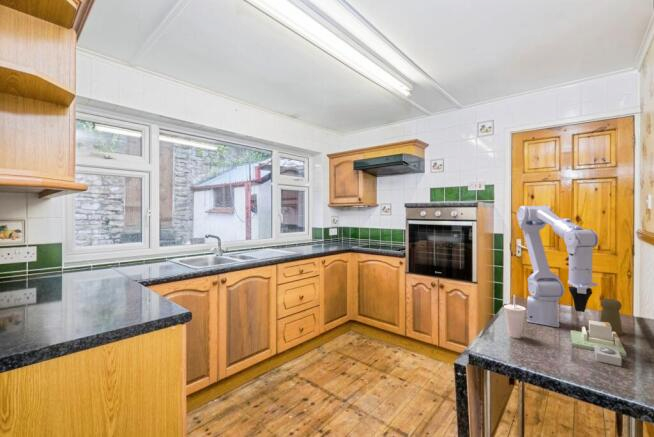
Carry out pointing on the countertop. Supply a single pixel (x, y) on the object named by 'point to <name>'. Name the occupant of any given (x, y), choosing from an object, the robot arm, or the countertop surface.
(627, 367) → the countertop surface
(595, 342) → the board
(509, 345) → the countertop surface
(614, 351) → the fan housing
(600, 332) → the white block
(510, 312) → the smoothie
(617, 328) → the dark olive bottle
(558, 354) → the countertop surface
